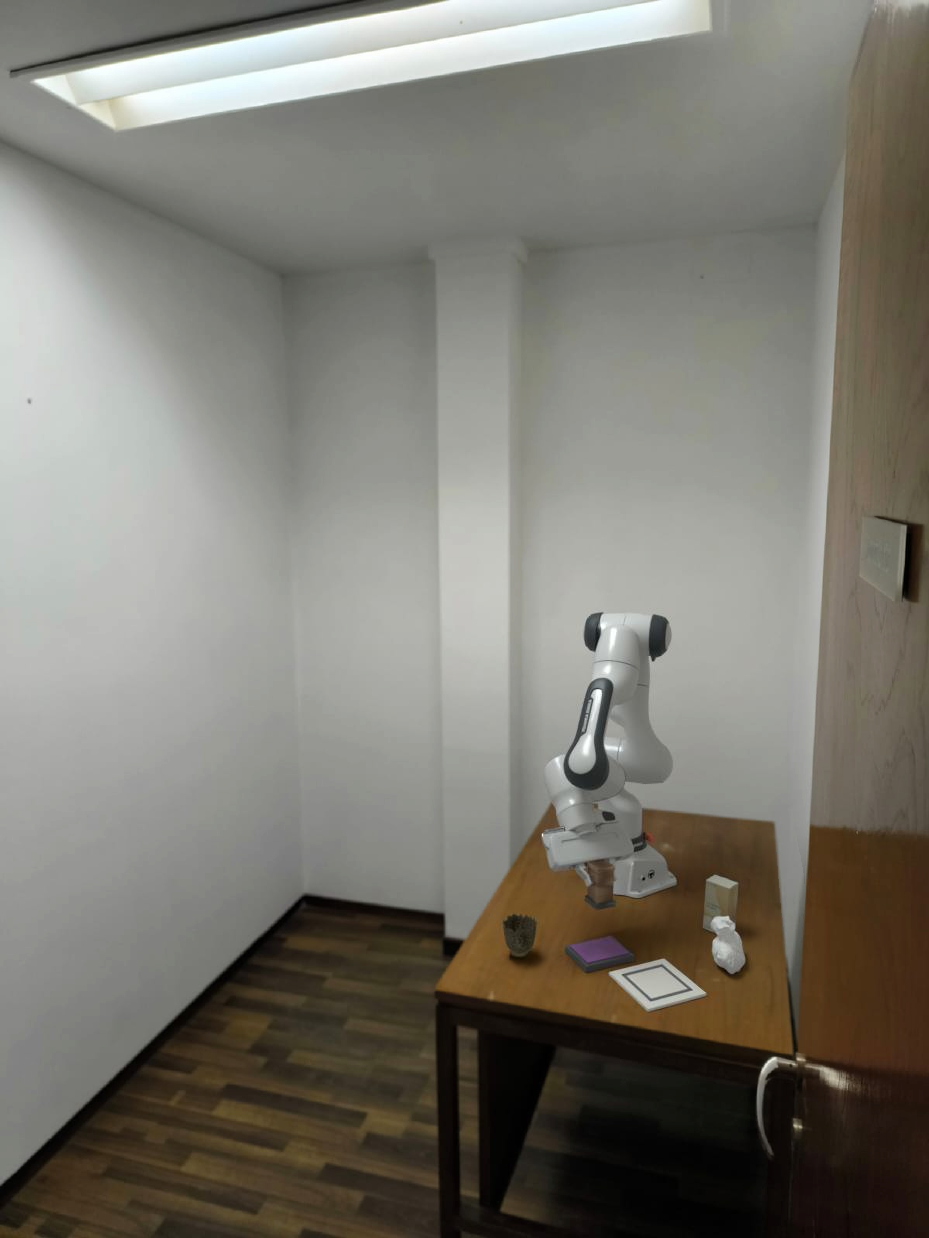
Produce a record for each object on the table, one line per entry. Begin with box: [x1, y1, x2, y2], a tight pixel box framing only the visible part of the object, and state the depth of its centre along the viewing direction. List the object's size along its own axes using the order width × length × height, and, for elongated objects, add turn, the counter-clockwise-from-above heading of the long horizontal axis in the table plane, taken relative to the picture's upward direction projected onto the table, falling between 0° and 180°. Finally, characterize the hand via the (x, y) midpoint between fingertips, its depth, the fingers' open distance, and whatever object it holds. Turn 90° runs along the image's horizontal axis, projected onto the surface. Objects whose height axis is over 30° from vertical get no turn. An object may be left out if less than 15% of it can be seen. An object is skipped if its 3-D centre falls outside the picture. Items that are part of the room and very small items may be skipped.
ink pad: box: [564, 935, 635, 974], centre depth 178 cm, size 12×9×2 cm
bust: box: [711, 916, 746, 975], centre depth 175 cm, size 12×8×11 cm
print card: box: [608, 958, 707, 1013], centre depth 167 cm, size 14×14×1 cm
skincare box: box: [702, 874, 740, 935], centre depth 188 cm, size 6×4×12 cm
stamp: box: [584, 859, 617, 911], centre depth 176 cm, size 5×5×9 cm
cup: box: [502, 913, 538, 960], centre depth 178 cm, size 8×7×8 cm
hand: (602, 883), depth 175 cm, fingers closed on stamp, 4 cm apart
